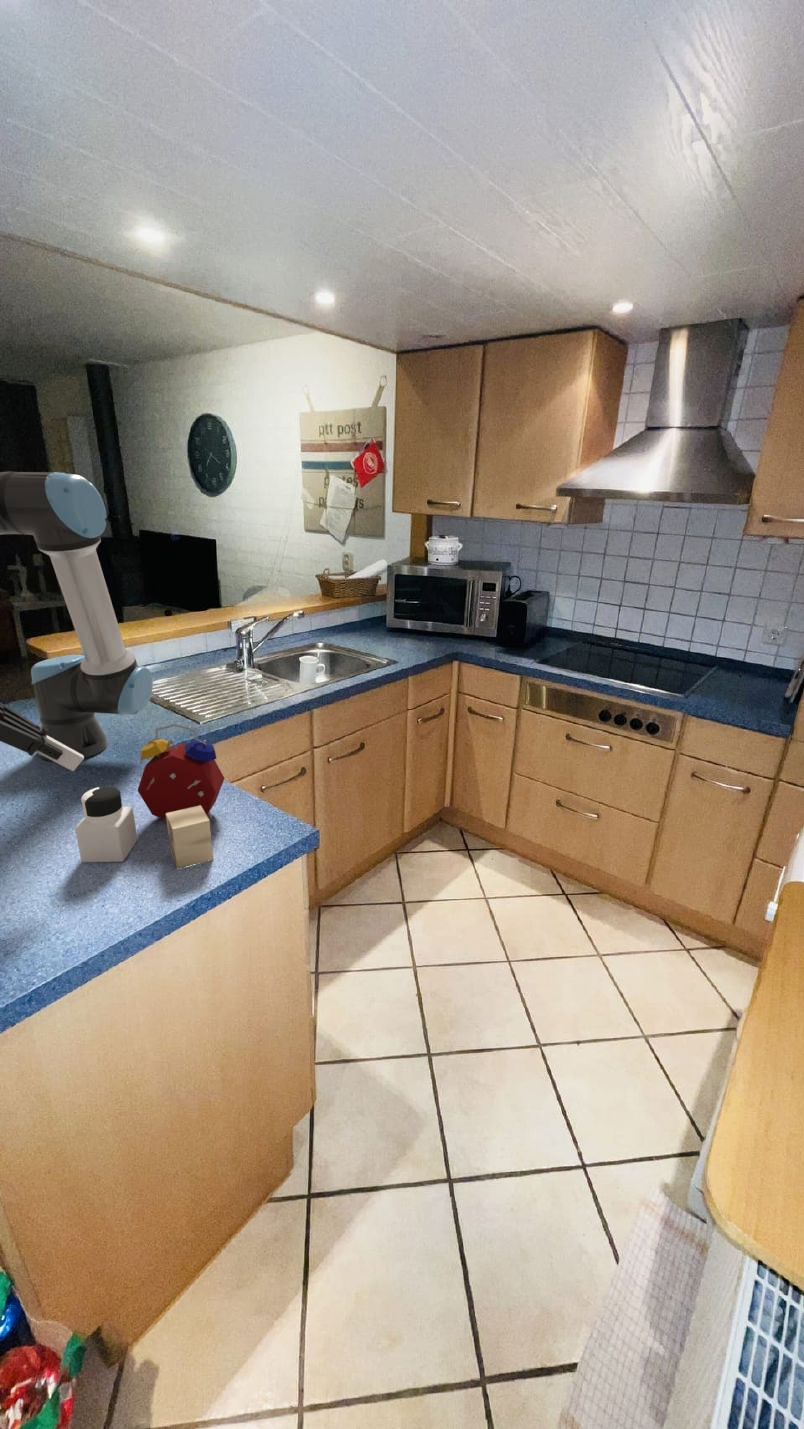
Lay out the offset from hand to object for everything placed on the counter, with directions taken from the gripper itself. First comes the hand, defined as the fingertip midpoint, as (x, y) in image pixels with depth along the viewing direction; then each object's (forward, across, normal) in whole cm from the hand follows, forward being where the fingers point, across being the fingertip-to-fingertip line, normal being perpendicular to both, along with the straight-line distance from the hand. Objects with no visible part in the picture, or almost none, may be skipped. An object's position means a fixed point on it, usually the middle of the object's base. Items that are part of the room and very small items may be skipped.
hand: (78, 763), depth 97 cm
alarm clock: (+24, -4, -1) cm, 25 cm away
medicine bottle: (+15, 0, -11) cm, 18 cm away
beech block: (+23, +9, -2) cm, 25 cm away
